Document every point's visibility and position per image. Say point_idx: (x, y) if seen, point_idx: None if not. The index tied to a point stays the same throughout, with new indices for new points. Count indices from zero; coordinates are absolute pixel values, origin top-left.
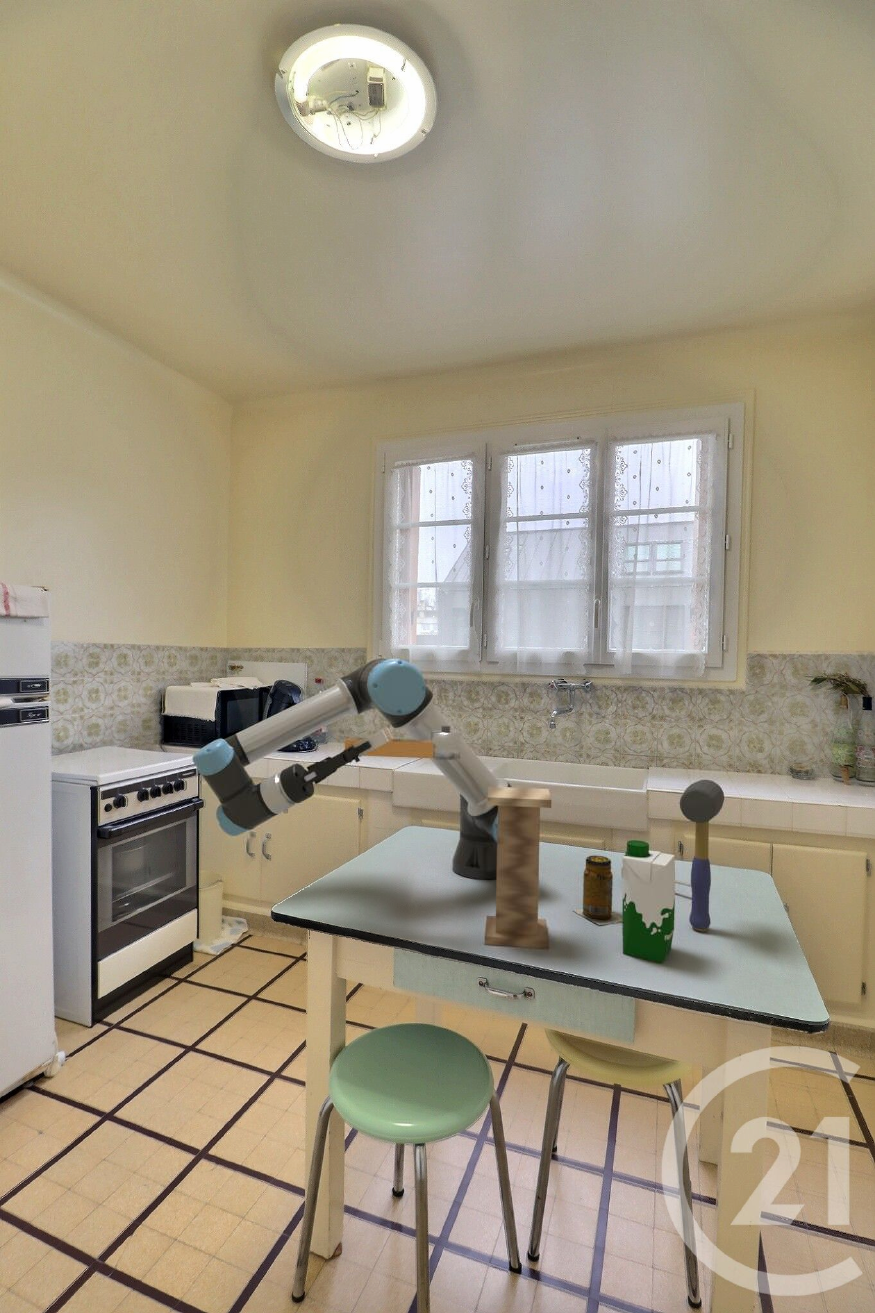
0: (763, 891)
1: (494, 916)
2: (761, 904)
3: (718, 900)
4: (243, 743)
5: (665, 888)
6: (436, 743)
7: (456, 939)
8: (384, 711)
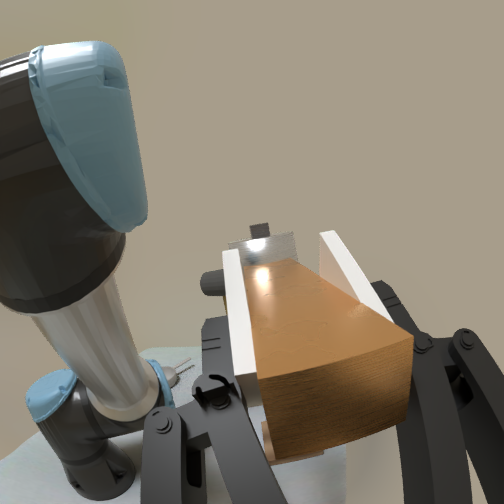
0: (177, 347)
1: (267, 455)
2: (198, 348)
3: (192, 359)
4: None
5: None
6: (294, 254)
7: (322, 476)
8: (109, 214)
